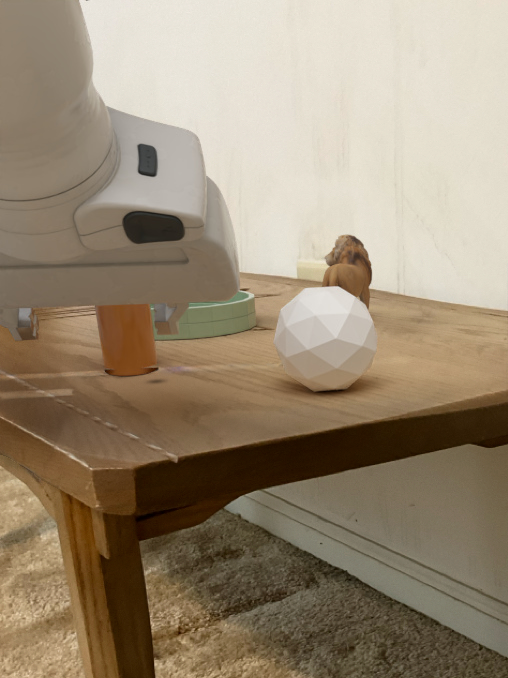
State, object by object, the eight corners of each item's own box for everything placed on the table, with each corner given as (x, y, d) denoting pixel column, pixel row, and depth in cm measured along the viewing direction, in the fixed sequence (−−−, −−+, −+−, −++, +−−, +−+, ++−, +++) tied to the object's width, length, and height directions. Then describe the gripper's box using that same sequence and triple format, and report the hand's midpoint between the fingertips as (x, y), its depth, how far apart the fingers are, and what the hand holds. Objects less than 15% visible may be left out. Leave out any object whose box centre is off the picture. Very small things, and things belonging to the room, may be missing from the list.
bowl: (96, 349, 81) (90, 311, 80) (119, 323, 95) (114, 290, 93) (257, 342, 83) (254, 306, 82) (256, 318, 97) (254, 286, 96)
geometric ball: (320, 430, 65) (261, 356, 59) (302, 372, 70) (247, 299, 64) (406, 379, 64) (355, 299, 58) (381, 324, 69) (332, 246, 63)
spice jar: (100, 377, 70) (83, 263, 66) (109, 366, 74) (92, 257, 70) (155, 374, 71) (141, 261, 67) (161, 363, 75) (147, 256, 71)
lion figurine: (328, 316, 98) (324, 233, 94) (374, 315, 98) (372, 232, 94) (315, 339, 84) (310, 244, 81) (369, 339, 84) (366, 243, 81)
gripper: (-173, 228, 44) (-64, 375, 56) (231, 219, 47) (248, 361, 59) (-159, 135, 46) (-57, 297, 59) (225, 132, 49) (243, 287, 62)
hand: (99, 329), depth 59 cm, fingers open, 8 cm apart
